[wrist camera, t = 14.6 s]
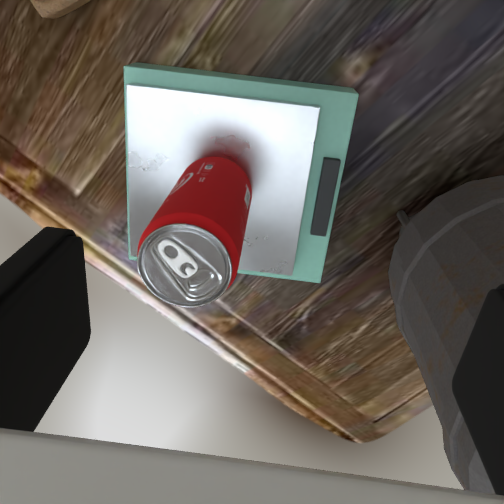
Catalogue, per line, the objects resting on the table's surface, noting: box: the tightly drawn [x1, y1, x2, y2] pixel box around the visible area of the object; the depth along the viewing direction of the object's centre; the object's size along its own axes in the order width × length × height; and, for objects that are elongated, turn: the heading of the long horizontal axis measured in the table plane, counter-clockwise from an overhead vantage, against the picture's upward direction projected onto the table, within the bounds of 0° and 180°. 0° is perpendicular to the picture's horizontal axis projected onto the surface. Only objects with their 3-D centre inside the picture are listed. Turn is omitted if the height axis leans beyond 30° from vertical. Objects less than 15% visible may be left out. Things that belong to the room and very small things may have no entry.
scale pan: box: [126, 83, 320, 276], centre depth 33 cm, size 13×13×1 cm
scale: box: [124, 62, 359, 283], centre depth 35 cm, size 16×15×4 cm
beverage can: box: [137, 156, 252, 308], centre depth 27 cm, size 5×5×12 cm
